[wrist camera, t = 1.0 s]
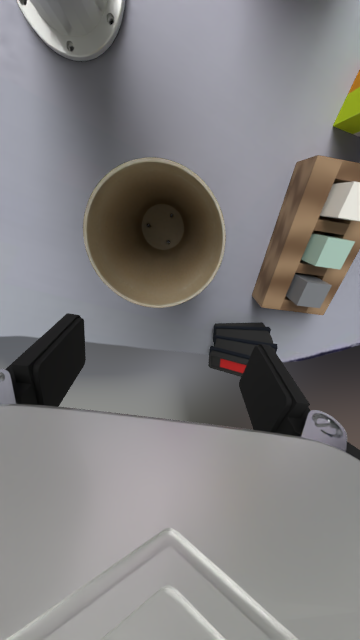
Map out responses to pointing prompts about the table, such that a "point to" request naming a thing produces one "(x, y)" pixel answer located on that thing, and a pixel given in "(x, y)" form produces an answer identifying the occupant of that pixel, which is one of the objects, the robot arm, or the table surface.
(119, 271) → the plant pot
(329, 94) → the table surface
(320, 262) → the key sage
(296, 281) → the grey block
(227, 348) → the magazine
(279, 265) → the brown wooden block holder
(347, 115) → the puzzle toy
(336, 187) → the key ivory
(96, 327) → the table surface
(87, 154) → the table surface
